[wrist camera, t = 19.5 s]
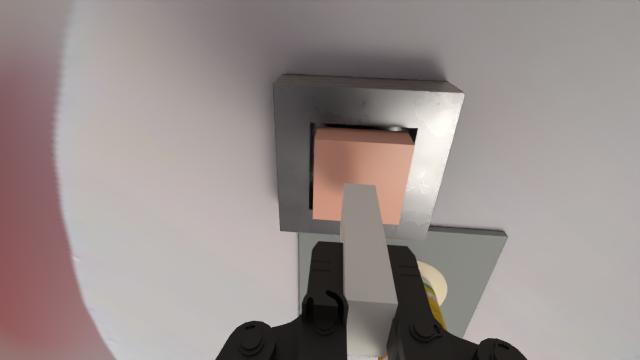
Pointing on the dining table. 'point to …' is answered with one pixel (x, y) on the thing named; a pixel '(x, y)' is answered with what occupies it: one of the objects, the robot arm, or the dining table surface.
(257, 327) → the robot arm
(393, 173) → the button
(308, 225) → the button housing
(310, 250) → the slate board
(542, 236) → the dining table surface
